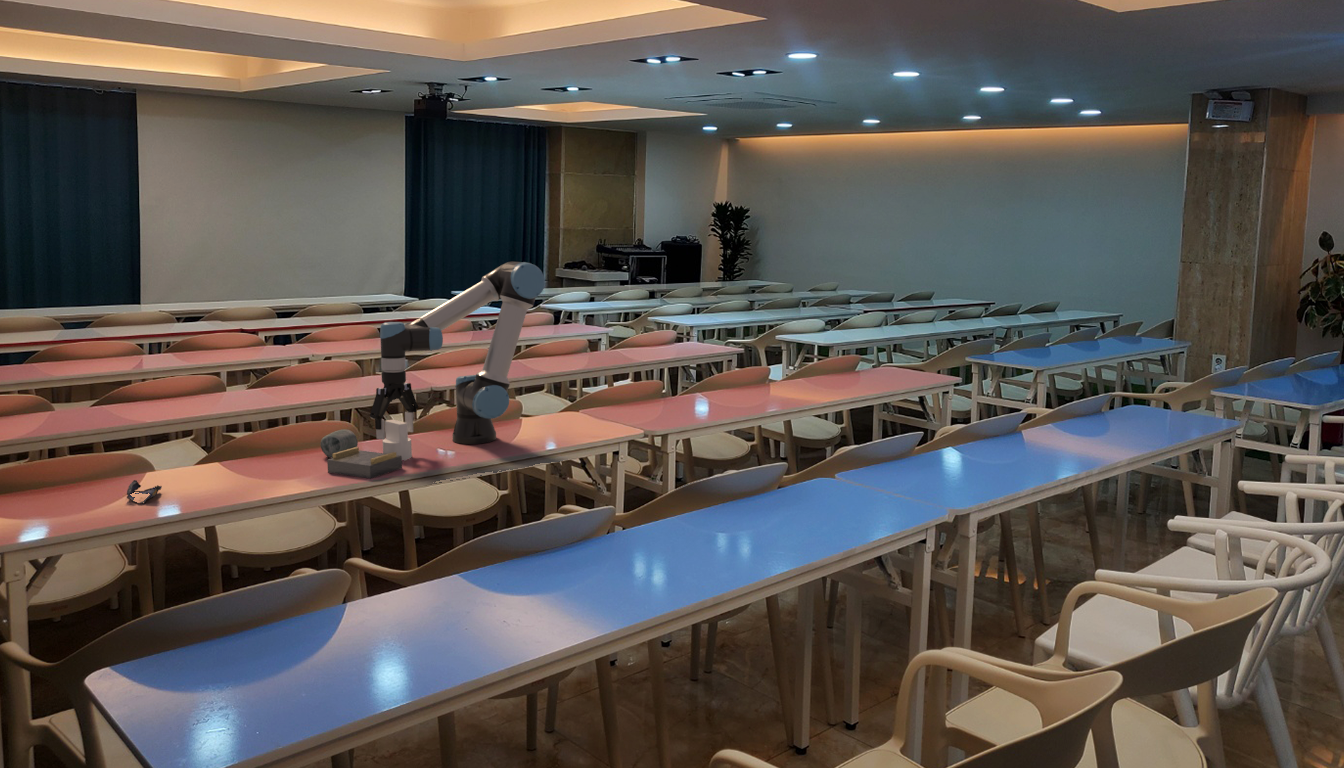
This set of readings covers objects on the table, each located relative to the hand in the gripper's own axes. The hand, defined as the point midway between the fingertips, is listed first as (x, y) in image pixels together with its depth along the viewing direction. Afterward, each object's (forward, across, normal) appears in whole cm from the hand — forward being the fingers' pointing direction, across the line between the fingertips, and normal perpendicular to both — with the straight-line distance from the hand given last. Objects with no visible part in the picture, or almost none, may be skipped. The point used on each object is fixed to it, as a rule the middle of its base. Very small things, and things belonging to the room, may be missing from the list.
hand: (395, 435), depth 322 cm
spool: (+8, +4, -20) cm, 22 cm away
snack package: (+9, +67, -31) cm, 75 cm away
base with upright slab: (+8, 0, 0) cm, 8 cm away
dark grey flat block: (+8, +16, +2) cm, 18 cm away
